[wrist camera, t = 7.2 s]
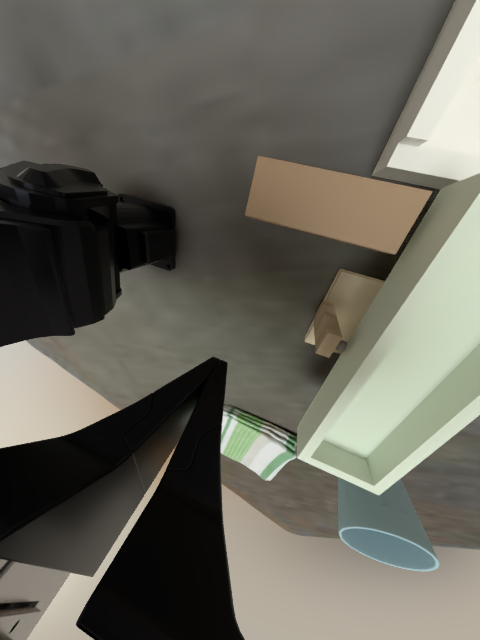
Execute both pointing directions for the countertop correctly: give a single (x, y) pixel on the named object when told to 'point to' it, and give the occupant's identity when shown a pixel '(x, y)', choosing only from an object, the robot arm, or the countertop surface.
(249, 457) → the dish towel
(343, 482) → the cup
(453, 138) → the bin
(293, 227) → the lever
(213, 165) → the countertop surface
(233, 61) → the countertop surface
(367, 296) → the lever stand
